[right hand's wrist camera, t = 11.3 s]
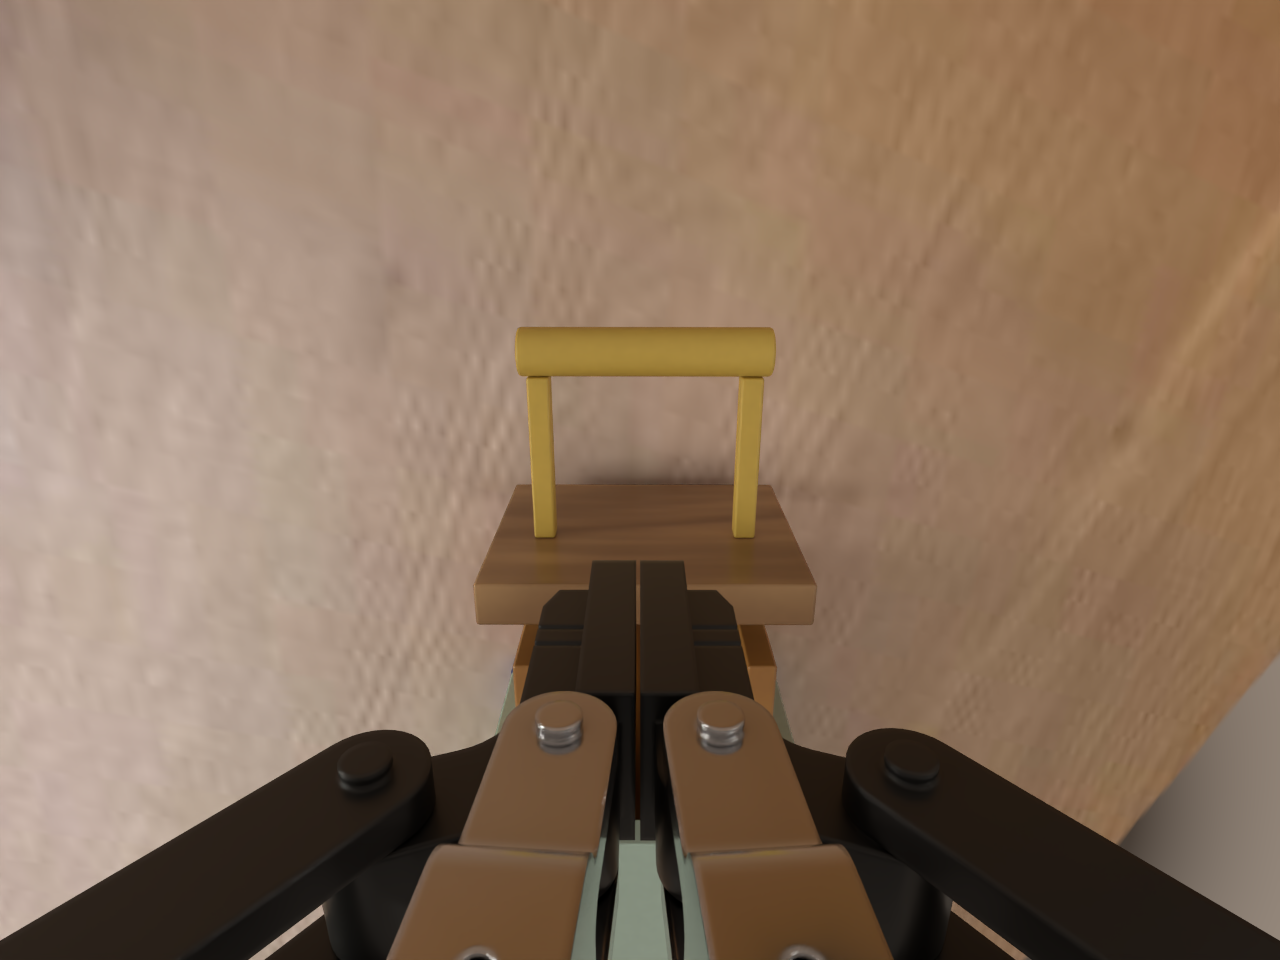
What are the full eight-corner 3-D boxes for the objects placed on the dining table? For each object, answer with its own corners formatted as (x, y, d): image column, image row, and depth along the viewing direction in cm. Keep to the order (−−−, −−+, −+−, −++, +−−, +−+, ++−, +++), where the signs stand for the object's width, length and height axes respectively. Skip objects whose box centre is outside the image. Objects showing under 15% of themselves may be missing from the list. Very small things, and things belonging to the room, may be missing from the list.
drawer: (505, 306, 23) (451, 348, 17) (783, 306, 23) (841, 349, 17) (542, 905, 32) (516, 1088, 26) (742, 905, 32) (769, 1088, 26)
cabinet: (515, 656, 29) (464, 843, 20) (770, 656, 29) (824, 844, 20) (540, 1019, 36) (509, 1268, 28) (743, 1019, 36) (774, 1268, 28)
